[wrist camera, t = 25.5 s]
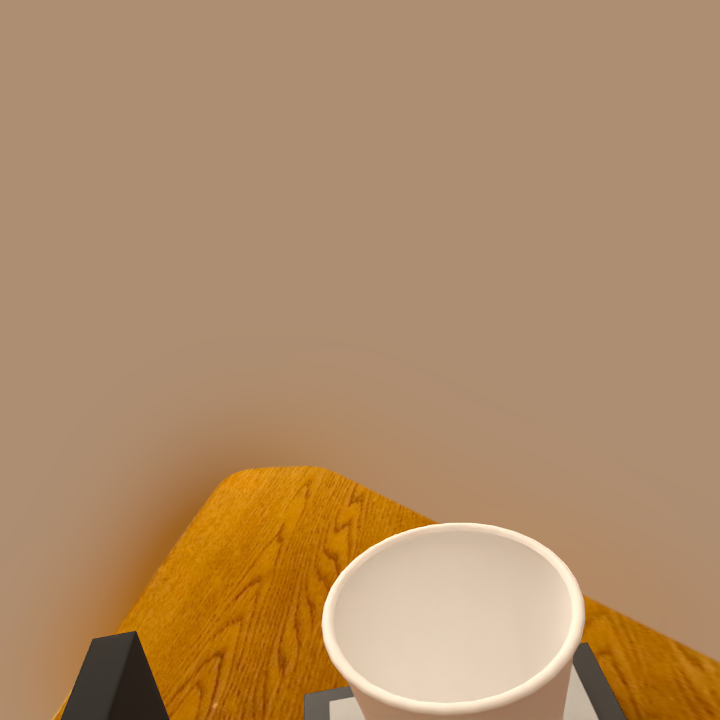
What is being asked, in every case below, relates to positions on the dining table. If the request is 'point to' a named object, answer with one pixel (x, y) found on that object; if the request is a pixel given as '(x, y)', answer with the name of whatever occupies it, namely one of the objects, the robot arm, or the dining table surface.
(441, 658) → the cup
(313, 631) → the dining table surface
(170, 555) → the dining table surface
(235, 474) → the dining table surface
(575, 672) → the scale
